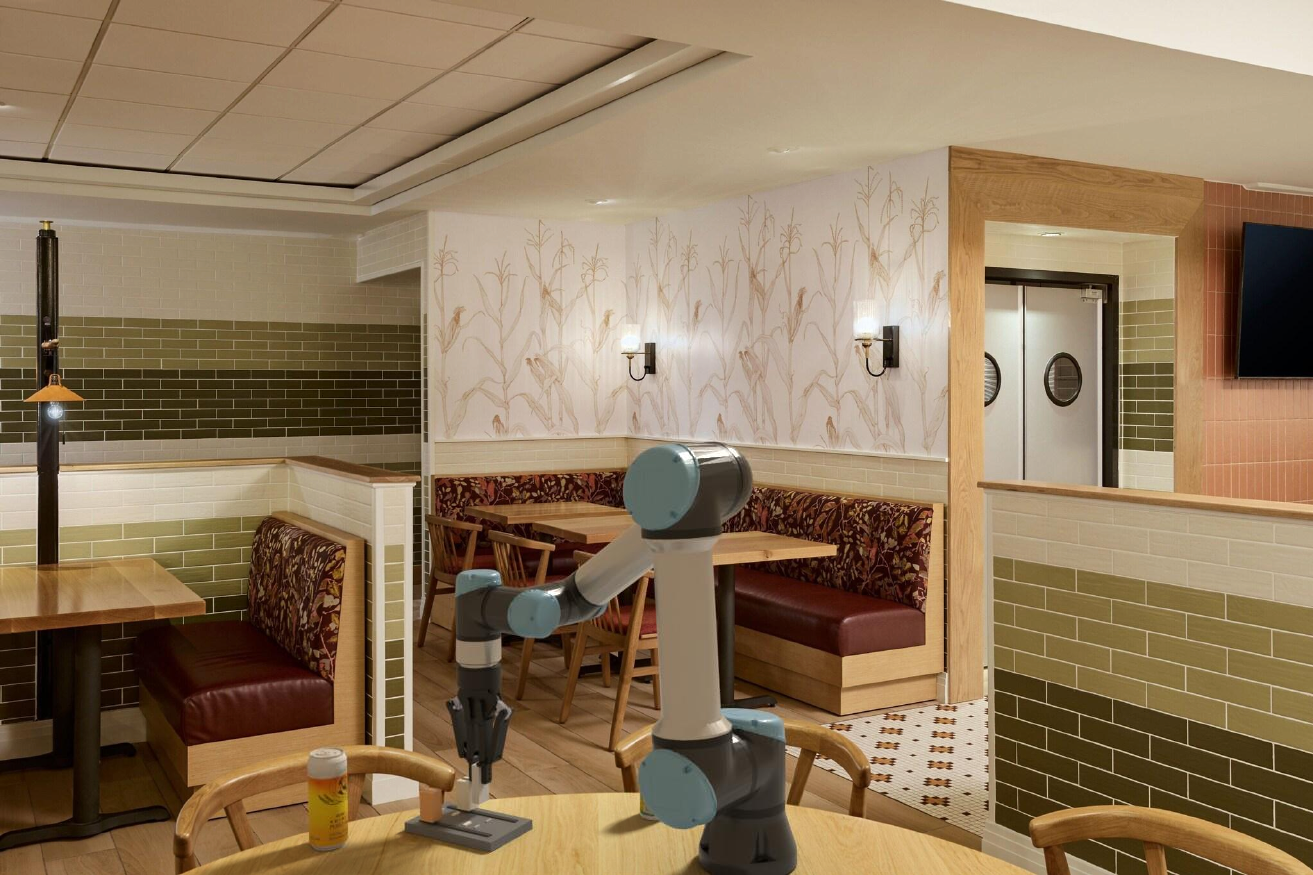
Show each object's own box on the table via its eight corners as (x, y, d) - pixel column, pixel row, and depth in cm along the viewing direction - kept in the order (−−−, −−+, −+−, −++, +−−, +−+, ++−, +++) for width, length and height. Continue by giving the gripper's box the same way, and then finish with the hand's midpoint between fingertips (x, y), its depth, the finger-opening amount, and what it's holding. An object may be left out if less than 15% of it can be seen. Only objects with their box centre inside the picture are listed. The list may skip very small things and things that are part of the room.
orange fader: (442, 817, 187) (441, 788, 187) (432, 822, 185) (431, 792, 185) (429, 815, 188) (429, 785, 188) (420, 819, 186) (419, 789, 186)
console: (532, 828, 187) (532, 818, 187) (491, 851, 178) (491, 841, 178) (448, 809, 196) (448, 799, 196) (404, 831, 187) (404, 820, 187)
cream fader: (477, 806, 192) (477, 777, 192) (468, 811, 190) (468, 781, 190) (465, 803, 193) (465, 775, 193) (456, 808, 191) (456, 779, 191)
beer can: (337, 853, 178) (335, 759, 178) (301, 850, 179) (300, 756, 179) (355, 838, 184) (353, 747, 183) (320, 835, 185) (318, 745, 185)
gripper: (523, 662, 189) (525, 801, 190) (463, 653, 196) (464, 788, 197) (496, 671, 183) (497, 815, 184) (434, 662, 189) (436, 801, 190)
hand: (480, 801), depth 190 cm, fingers closed
